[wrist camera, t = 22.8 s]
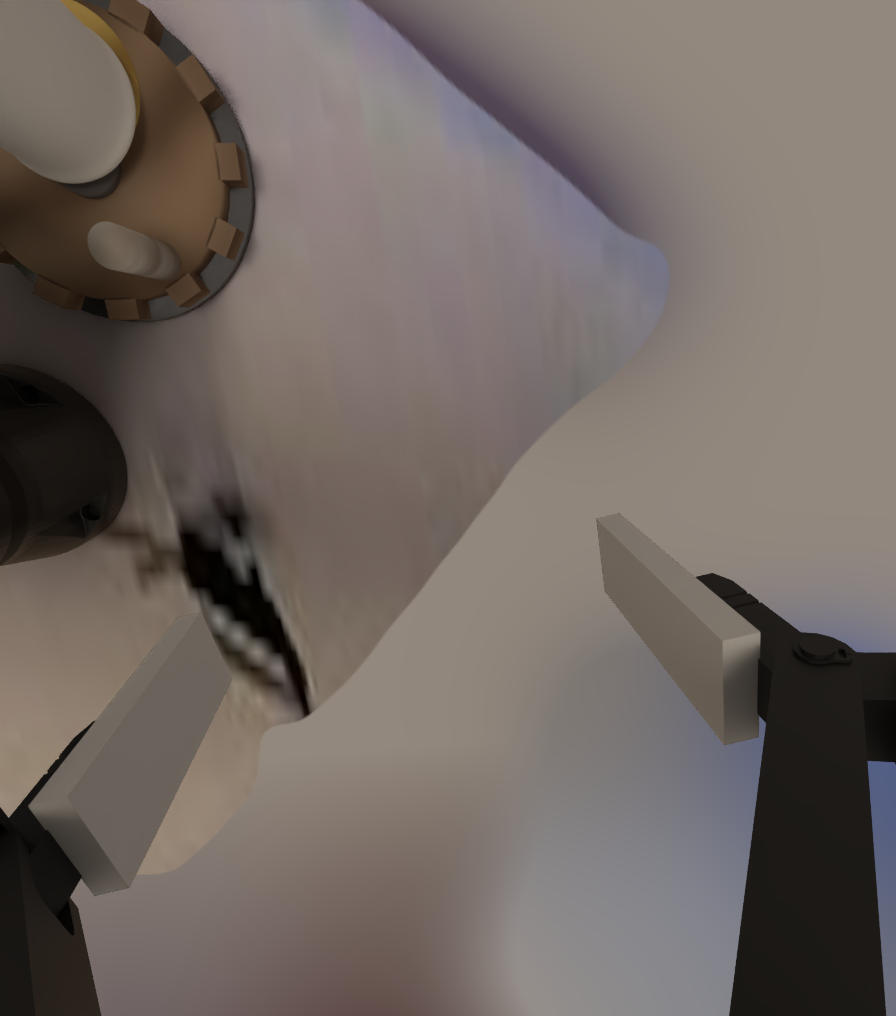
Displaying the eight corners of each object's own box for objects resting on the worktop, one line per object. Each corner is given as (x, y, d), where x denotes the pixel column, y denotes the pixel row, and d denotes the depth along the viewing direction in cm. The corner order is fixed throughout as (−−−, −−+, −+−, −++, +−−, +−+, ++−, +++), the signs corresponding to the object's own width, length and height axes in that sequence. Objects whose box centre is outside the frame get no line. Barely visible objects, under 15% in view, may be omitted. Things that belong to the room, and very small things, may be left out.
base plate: (48, 346, 36) (40, 347, 36) (-104, 35, 30) (-117, 27, 29) (290, 290, 36) (288, 289, 36) (192, -33, 30) (186, -42, 29)
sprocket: (-124, 106, 30) (-294, 33, 23) (106, -87, 28) (2, -234, 21) (101, 369, 36) (25, 378, 29) (303, 226, 34) (276, 198, 27)
